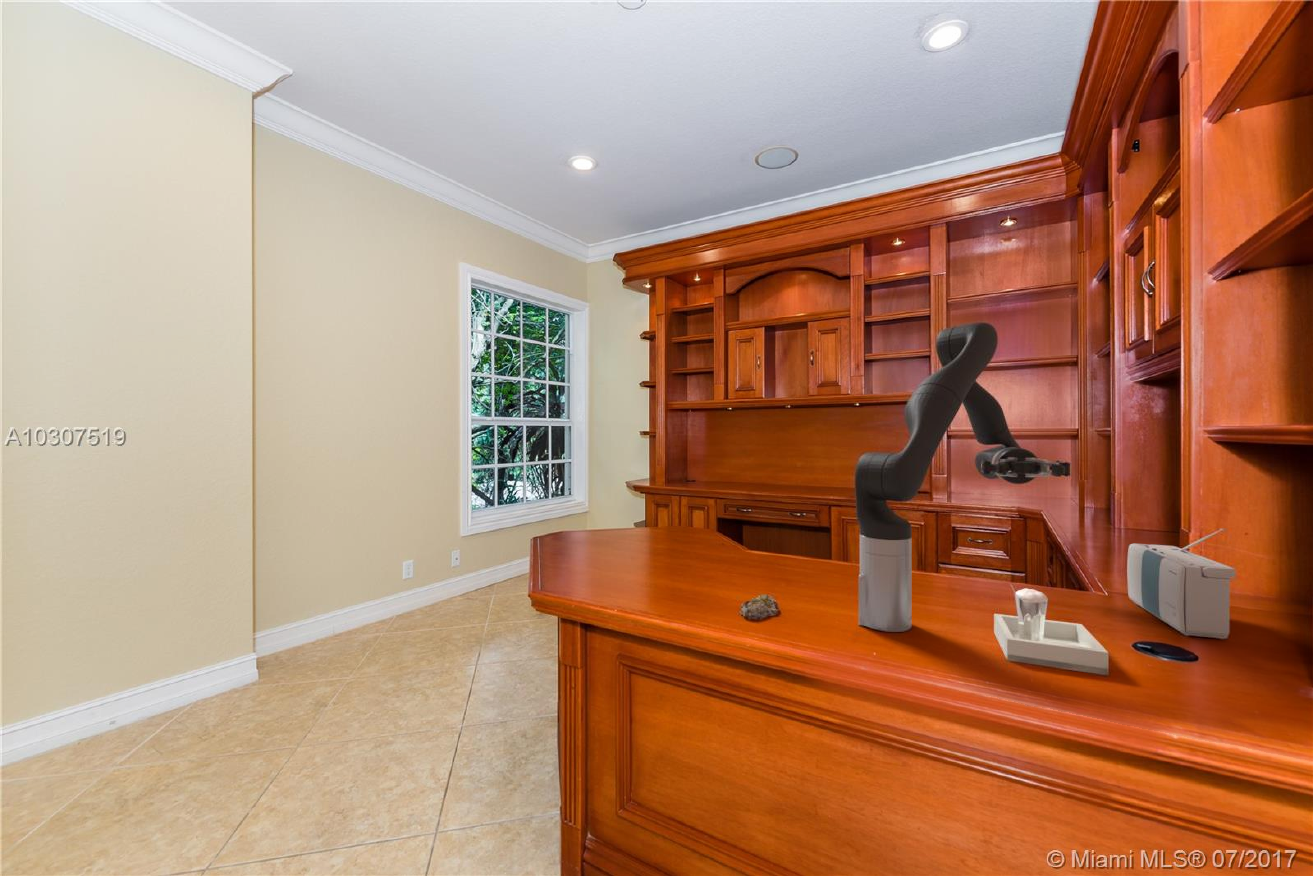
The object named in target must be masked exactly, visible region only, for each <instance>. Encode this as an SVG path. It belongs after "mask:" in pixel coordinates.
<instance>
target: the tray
mask: <svg viewBox="0 0 1313 876" xmlns="http://www.w3.org/2000/svg"><path fill="white" fill-rule="evenodd" d="M993 632H994V635H995V637H996V640H997V641H998V644H999V645H1000V649H1001V650H1002V652H1003V654H1004V656H1005V658H1006V660H1007V661H1009V662H1016V663H1022V664H1030V665H1036V666H1043V667H1051V668H1056V669H1062V670H1069V671H1070V670H1071V671H1077V672H1083V673H1088V674H1096V675H1103V676H1109V652H1108V650H1106V649H1105V647H1104V646H1103V645H1102V644H1101V643H1100V642H1099V641H1098V640H1097V639H1096V638H1095V637H1094V635H1093V634H1092V633H1091V632H1090V631H1089V630H1088V629H1087V628H1086V627H1085V626H1084V625H1083V624H1082V623H1077V622H1076V623H1075V622H1066V621H1059V620H1050V619H1049V620H1048V619H1045V625H1044V636H1043V642H1041V641H1034V640H1026V639H1019V626H1018V615H1007V614H1002V613H1001V614H1000V613H994V614H993Z"/></svg>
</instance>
